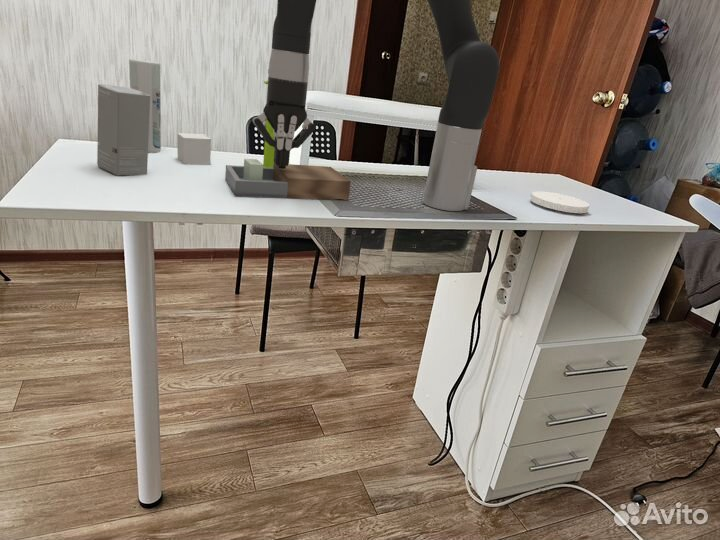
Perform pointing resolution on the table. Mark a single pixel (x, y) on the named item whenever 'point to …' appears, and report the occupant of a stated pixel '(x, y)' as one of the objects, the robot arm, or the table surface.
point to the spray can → (148, 82)
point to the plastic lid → (559, 202)
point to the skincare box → (123, 130)
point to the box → (255, 184)
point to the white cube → (194, 149)
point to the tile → (252, 170)
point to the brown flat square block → (313, 182)
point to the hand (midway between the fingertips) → (281, 167)
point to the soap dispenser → (268, 146)
